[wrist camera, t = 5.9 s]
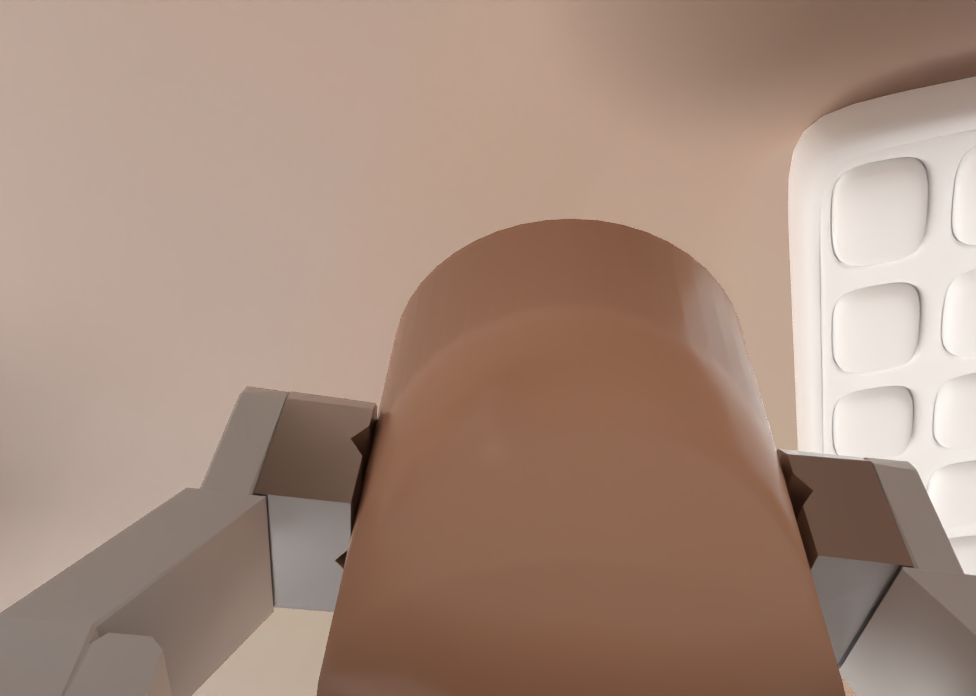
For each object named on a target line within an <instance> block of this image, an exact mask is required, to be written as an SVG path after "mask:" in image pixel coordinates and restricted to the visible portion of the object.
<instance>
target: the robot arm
mask: <svg viewBox="0 0 976 696" xmlns="http://www.w3.org/2000/svg"><path fill="white" fill-rule="evenodd" d="M376 422H377V405H376V403H371V402H364V401H357V400H349V399H342V398H335V397H328V396H320V395H313V394H306V393H298V392H291V393H289V392H284V391H277V390H270V389H263V388H256V387H249V386H247V387H246V388H245V389H244V390H243V392H242V393H241V394H240V395H239V397H238V399H237V402H236V404H235V406H234V409H233V411H232V414H231V416H230V418H229V421H228V423H227V425H226V428H225V430H224V433H223V435H222V437H221V440H220V442H219V445H218V447H217V449H216V452H215V454H214V456H213V459H212V461H211V464H210V466H209V468H208V471H207V473H206V475H205V478H204V480H203V483H202V485H201V487H200V489H195V488H185V489H184V490H182V491H181V492H179V493H178V494H176V495H175V496H174V497H172V498H171V499H169V500H168V501H166V502H165V503H163V504H162V505H160V506H159V507H157V508H156V509H154V510H153V511H151V512H150V513H148V514H147V515H145V516H144V517H142V518H141V519H139V520H138V521H136V522H135V523H133V524H132V525H131V526H129V527H128V528H126V529H125V530H123V531H122V532H120V533H119V534H117V535H116V536H114V537H113V538H111V539H110V540H108V541H107V542H105V543H104V544H102V545H101V546H99V547H98V548H96V549H95V550H93V551H92V552H90V553H89V554H87V555H86V556H85V557H83V558H82V559H80V560H79V561H77V562H76V563H74V564H73V565H71V566H70V567H68V568H67V569H65V570H64V571H62V572H61V573H59V574H58V575H56V576H55V577H53V578H52V579H50V580H49V581H47V582H46V583H44V584H43V585H42V586H40V587H39V588H37V589H36V590H34V591H33V592H31V593H30V594H28V595H27V596H25V597H24V598H22V599H21V600H19V601H18V602H16V603H15V604H13V605H12V606H10V607H9V608H7V609H6V610H4V611H3V612H1V613H0V696H191V695H192V694H193V693H194V692H195V691H196V690H197V689H198V688H199V687H200V686H201V685H202V684H203V683H204V682H205V681H206V680H207V679H208V678H209V677H210V676H211V675H212V674H213V673H214V672H215V671H216V670H217V669H218V668H219V667H220V666H221V665H222V664H223V663H224V662H225V661H226V660H227V659H228V658H229V657H230V656H231V655H232V654H233V653H234V652H235V651H236V650H237V649H238V647H239V646H240V645H241V644H242V643H243V642H244V641H245V640H246V639H247V638H248V637H249V636H250V635H251V634H252V633H253V632H254V631H255V630H256V629H257V628H258V627H259V626H260V625H261V624H262V623H263V622H264V621H265V620H266V619H267V618H268V617H269V616H270V615H271V614H272V613H273V612H274V610H273V607H279V608H291V609H303V610H316V611H328V612H334V610H335V605H336V601H337V596H338V592H339V587H340V583H341V578H342V574H343V569H344V565H345V560H346V556H347V551H348V547H349V542H350V539H351V534H352V530H353V526H354V521H355V517H356V512H357V508H358V503H359V499H360V494H361V490H362V484H363V479H364V475H365V470H366V466H367V462H368V458H369V454H370V450H371V445H372V440H373V436H374V431H375V427H376ZM777 455H778V458H779V462H780V465H781V469H782V472H783V476H784V479H785V483H786V486H787V490H788V493H789V497H790V500H791V504H792V507H793V511H794V514H795V518H796V521H797V525H798V529H799V532H800V536H801V539H802V543H803V546H804V550H805V553H806V557H807V560H808V564H809V567H810V571H811V574H812V578H813V581H814V585H815V588H816V592H817V595H818V599H819V602H820V606H821V609H822V613H823V616H824V620H825V623H826V627H827V630H828V634H829V637H830V641H831V644H832V648H833V651H834V655H835V658H836V662H837V665H838V668H840V670H839V672H840V675H841V676H842V677H843V679H844V680H845V681H846V682H847V684H848V685H849V686H850V687H851V689H852V690H853V691H854V693H855V694H856V695H857V696H976V575H969V574H965V573H964V571H963V569H962V567H961V565H960V563H959V560H958V558H957V556H956V554H955V552H954V550H953V547H952V545H951V543H950V541H949V539H948V537H947V534H946V532H945V530H944V528H943V526H942V524H941V521H940V519H939V517H938V515H937V513H936V511H935V508H934V506H933V504H932V502H931V500H930V498H929V495H928V493H927V491H926V489H925V487H924V485H923V482H922V480H921V478H920V476H919V474H918V472H917V470H916V468H915V467H914V466H913V465H911V464H910V463H909V462H908V461H897V460H887V459H877V458H866V457H865V458H859V457H852V456H842V455H833V454H823V453H814V452H804V451H795V450H785V449H778V450H777Z"/></svg>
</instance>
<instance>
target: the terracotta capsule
mask: <svg viewBox="0 0 976 696" xmlns="http://www.w3.org/2000/svg"><path fill="white" fill-rule="evenodd" d="M317 696H845V692H844V688H843V683H842V679H841V676H840V672H839V669H838V665H837V662H836V658H835V655H834V651H833V648H832V644H831V641H830V637H829V634H828V630H827V627H826V623H825V620H824V616H823V613H822V609H821V606H820V602H819V599H818V595H817V592H816V588H815V585H814V581H813V578H812V574H811V571H810V567H809V564H808V560H807V557H806V553H805V550H804V546H803V543H802V539H801V536H800V532H799V529H798V525H797V521H796V518H795V514H794V511H793V507H792V504H791V500H790V497H789V493H788V490H787V486H786V483H785V479H784V476H783V472H782V469H781V465H780V462H779V458H778V455H777V451H776V448H775V444H774V441H773V437H772V434H771V430H770V427H769V423H768V420H767V416H766V413H765V409H764V406H763V402H762V399H761V395H760V392H759V388H758V385H757V381H756V378H755V374H754V371H753V367H752V364H751V360H750V357H749V353H748V350H747V346H746V343H745V339H744V336H743V332H742V329H741V325H740V322H739V318H738V316H737V314H736V312H735V309H734V307H733V305H732V302H731V301H730V299H729V297H728V296H727V294H726V293H725V291H724V290H723V288H722V287H721V285H720V284H719V283H718V282H717V280H716V279H715V278H714V277H713V276H712V275H711V274H710V273H709V272H708V270H707V269H706V268H705V267H703V266H702V265H701V264H700V263H698V262H697V261H696V260H695V259H694V258H692V257H691V256H690V255H689V254H687V253H686V252H684V251H682V250H681V249H679V248H677V247H676V246H674V245H673V244H671V243H669V242H667V241H665V240H663V239H661V238H658V237H656V236H654V235H652V234H649V233H647V232H644V231H641V230H638V229H634V228H631V227H628V226H625V225H620V224H615V223H609V222H603V221H598V220H582V219H560V220H545V221H539V222H533V223H527V224H521V225H518V226H514V227H511V228H507V229H504V230H501V231H497V232H495V233H492V234H490V235H488V236H485V237H483V238H481V239H478V240H476V241H474V242H472V243H471V244H469V245H467V246H465V247H464V248H462V249H460V250H459V251H457V252H455V253H454V254H452V255H451V256H450V257H449V258H447V259H446V260H445V261H443V262H442V263H441V264H440V265H438V266H437V267H436V268H435V269H434V270H433V271H432V272H431V273H430V274H429V275H428V276H427V277H426V278H425V279H424V280H423V281H422V283H421V284H420V285H419V287H418V288H417V290H416V291H415V292H414V294H413V295H412V297H411V298H410V300H409V302H408V304H407V306H406V308H405V310H404V312H403V314H402V316H401V319H400V322H399V325H398V329H397V332H396V336H395V340H394V345H393V349H392V354H391V358H390V363H389V367H388V372H387V376H386V381H385V385H384V390H383V394H382V399H381V403H380V408H379V412H378V417H377V422H376V427H375V431H374V436H373V440H372V445H371V450H370V454H369V458H368V462H367V466H366V470H365V475H364V479H363V484H362V490H361V494H360V499H359V503H358V508H357V512H356V517H355V521H354V526H353V530H352V534H351V539H350V542H349V547H348V551H347V556H346V560H345V565H344V569H343V574H342V578H341V583H340V587H339V592H338V596H337V601H336V605H335V610H334V614H333V619H332V623H331V628H330V632H329V637H328V641H327V646H326V650H325V655H324V659H323V664H322V668H321V673H320V677H319V682H318V690H317Z"/></svg>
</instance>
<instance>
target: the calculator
mask: <svg viewBox="0 0 976 696" xmlns="http://www.w3.org/2000/svg"><path fill="white" fill-rule="evenodd" d="M921 161H922V162H921ZM923 164H924V165H923ZM924 166H925V167H924ZM925 168H926V169H925ZM788 219H789V247H790V271H791V295H792V319H793V342H794V366H795V390H796V413H797V437H798V451H804V452H814V453H823V454H833V455H842V456H852V457H859V458H865V457H866V458H877V459H887V460H897V461H908V462H909V463H910V464H911V465H913V466H914V467H915V468H916V470H917V472H918V474H919V476H920V478H921V480H922V482H923V485H924V487H925V489H926V491H927V493H928V495H929V498H930V500H931V502H932V504H933V506H934V508H935V511H936V513H937V515H938V517H939V519H940V521H941V524H942V526H943V528H944V530H945V532H946V534H947V537H948V539H949V541H950V543H951V545H952V547H953V550H954V552H955V554H956V556H957V558H958V560H959V563H960V565H961V567H962V569H963V571H964V573H965V574H969V575H976V77H971V78H966V79H961V80H956V81H951V82H947V83H942V84H937V85H932V86H927V87H923V88H918V89H913V90H908V91H903V92H899V93H895V94H891V95H887V96H883V97H879V98H875V99H871V100H867V101H863V102H859V103H855V104H851V105H849V106H846V107H844V108H841V109H839V110H836V111H834V112H831V113H829V114H826V115H824V116H822V117H820V118H819V119H818V120H817V121H816V122H814V123H813V124H812V125H811V126H810V127H808V128H807V129H806V130H805V131H804V132H803V134H802V136H801V138H800V139H799V141H798V143H797V145H796V147H795V149H794V151H793V156H792V162H791V168H790V173H789V190H788ZM954 236H955V237H954ZM834 253H835V254H836V255H835V254H834ZM836 256H837V257H838V258H837V257H836ZM916 289H917V290H916ZM917 291H918V292H917ZM918 296H919V297H918ZM942 344H943V345H942ZM944 347H945V348H946V349H945V348H944ZM835 361H836V362H835ZM910 392H911V393H910ZM911 395H912V396H911ZM935 439H936V440H937V441H936V440H935ZM835 450H836V451H835Z"/></svg>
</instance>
